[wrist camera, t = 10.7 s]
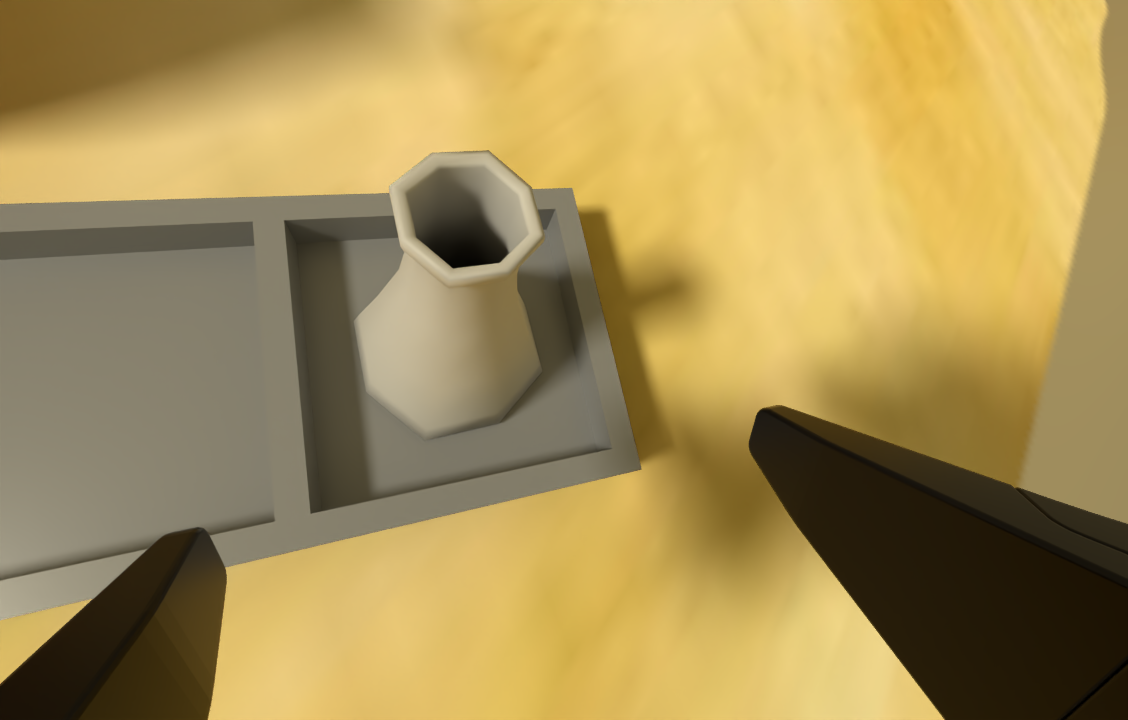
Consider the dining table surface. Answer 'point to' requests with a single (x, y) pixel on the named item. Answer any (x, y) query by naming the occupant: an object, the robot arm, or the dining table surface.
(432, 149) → the dining table surface
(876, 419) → the dining table surface
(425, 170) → the flask
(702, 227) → the dining table surface
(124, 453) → the caddy tray
